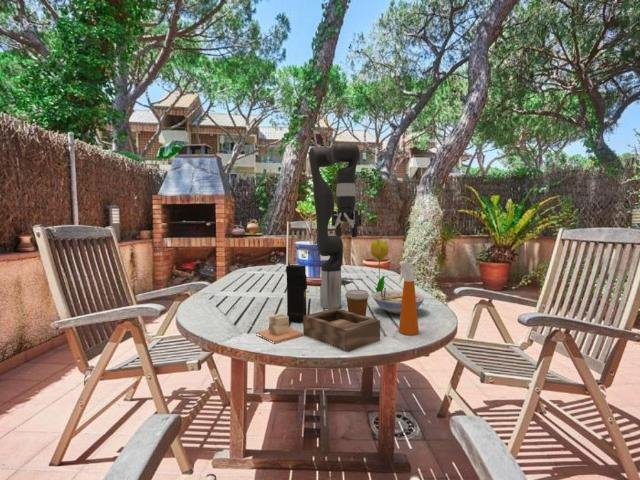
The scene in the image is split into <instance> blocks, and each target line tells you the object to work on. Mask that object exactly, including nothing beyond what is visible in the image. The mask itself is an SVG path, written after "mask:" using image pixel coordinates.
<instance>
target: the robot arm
mask: <svg viewBox="0 0 640 480" xmlns="http://www.w3.org/2000/svg"><path fill="white" fill-rule="evenodd" d="M360 152H361V151H360V148H359V146H358V145H357V144H354V143H341V142H340V143H334V145H332V146H331V147H329V146H312V147H310V149H309V151H308V160H309V161H308V162H309V167H310V168H309V169H310V173H311V178H312V180H311V181H312V185H313V187H312V188H313V201H314V209H315V220H316V245H317V251H318V254H319V255H320V256H321V257H329V258H328V259H327V260H326V261H325V262H323V263H322V264H321V265H320V266H321V269H320V271H321V279H320V280H321V285H320V286H319V289H320V290H319V294H320V295H319V299H320V302H319V303H320V304H319V305H320V306H321V308H323V309H327V310H330V309H334V308H337V309H341V307H342V266H343V257H344V255H343V253H344V243H343V239H342V238H341V236H342V225H343V224H344V223H346V222H347V223H348V224H349V225H350V226H351V238H354V239H355V238H357V236H358V228H359V227H362V225H363V222H362V210H360V209H359V210H358V209H357V210H355V208H356V206H357V202H356V199H357V194H356V191H357V189H356V169H357V166H358V162H359V158H360ZM340 163H348V165H347V167H342V168H339V169H337V171H336V189H335V190H336V191H335V192H336V198H335V196H334V192H333V190H332V188H331V187H330V185H328V183H327V182H326V181H325V179H324V177H323V176H322V174H321V171H320V168H327V167H330V166H332V165H334V164H340ZM335 199H336V201H335ZM335 202H336V204H335ZM335 205H336V207H335ZM335 208H337V210H335ZM330 220H331V226H334V228H335V235H329V223H330Z"/></svg>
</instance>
